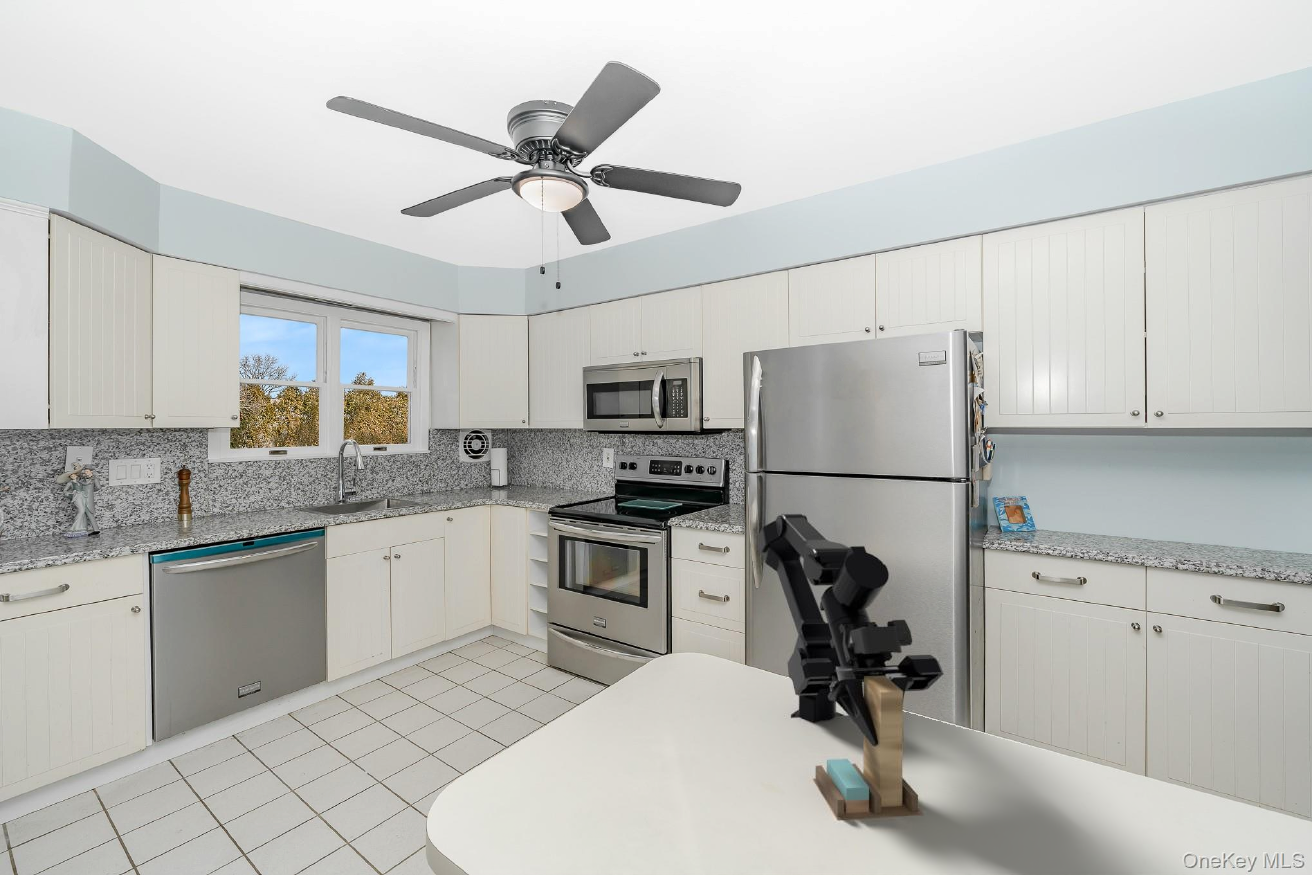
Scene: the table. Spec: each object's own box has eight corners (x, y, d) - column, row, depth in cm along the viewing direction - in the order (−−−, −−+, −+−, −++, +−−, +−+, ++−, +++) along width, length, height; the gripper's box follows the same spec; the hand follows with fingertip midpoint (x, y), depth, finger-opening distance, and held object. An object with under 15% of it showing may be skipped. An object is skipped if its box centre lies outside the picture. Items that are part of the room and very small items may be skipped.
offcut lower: (826, 782, 74) (826, 771, 74) (847, 781, 74) (847, 769, 74) (846, 813, 68) (846, 800, 68) (868, 811, 68) (868, 799, 68)
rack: (812, 786, 75) (812, 763, 75) (889, 781, 76) (889, 759, 76) (837, 828, 67) (837, 802, 67) (923, 822, 68) (923, 797, 68)
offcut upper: (826, 771, 74) (826, 759, 74) (847, 769, 74) (847, 758, 74) (846, 800, 68) (846, 788, 68) (868, 799, 68) (869, 786, 68)
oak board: (863, 784, 74) (864, 676, 74) (884, 783, 74) (884, 675, 74) (880, 806, 69) (880, 692, 69) (902, 805, 70) (903, 691, 69)
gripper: (800, 598, 75) (834, 725, 64) (935, 595, 76) (991, 718, 65) (781, 636, 82) (808, 755, 72) (904, 633, 84) (948, 748, 73)
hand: (888, 744), depth 70 cm, fingers closed on oak board, 3 cm apart
